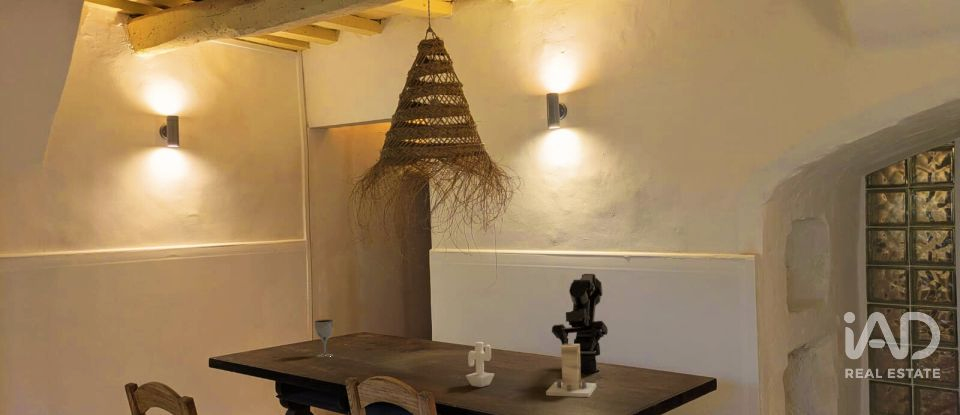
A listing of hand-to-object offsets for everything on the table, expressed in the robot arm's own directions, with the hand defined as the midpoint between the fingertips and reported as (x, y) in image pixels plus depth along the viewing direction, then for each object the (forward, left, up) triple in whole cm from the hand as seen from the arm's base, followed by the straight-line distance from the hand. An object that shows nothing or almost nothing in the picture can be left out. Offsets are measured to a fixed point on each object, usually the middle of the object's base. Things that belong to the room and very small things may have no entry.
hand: (577, 352), depth 275 cm
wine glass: (-110, -52, -11) cm, 122 cm away
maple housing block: (+6, -7, -10) cm, 14 cm away
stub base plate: (+6, -7, -11) cm, 15 cm away
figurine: (-21, -27, -11) cm, 36 cm away
